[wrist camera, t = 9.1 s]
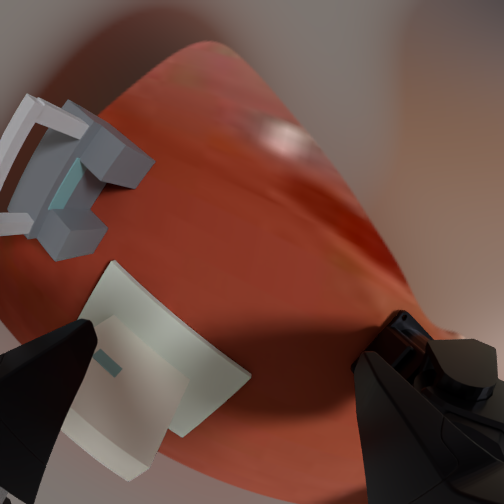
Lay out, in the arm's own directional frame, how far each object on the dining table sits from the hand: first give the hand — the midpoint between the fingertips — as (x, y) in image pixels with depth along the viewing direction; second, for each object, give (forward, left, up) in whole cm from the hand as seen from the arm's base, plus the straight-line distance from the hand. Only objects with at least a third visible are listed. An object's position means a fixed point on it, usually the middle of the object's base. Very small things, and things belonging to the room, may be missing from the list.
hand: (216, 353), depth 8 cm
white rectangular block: (+2, +11, -11) cm, 16 cm away
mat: (+2, +11, -12) cm, 16 cm away
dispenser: (+14, +2, -12) cm, 18 cm away
